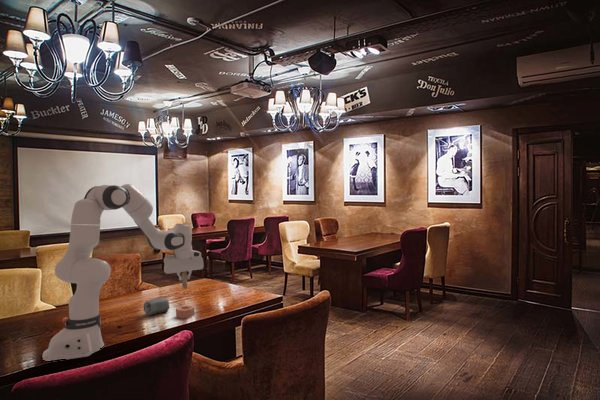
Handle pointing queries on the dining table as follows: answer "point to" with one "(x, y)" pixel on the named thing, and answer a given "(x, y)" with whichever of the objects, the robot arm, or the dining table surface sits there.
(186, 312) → the bead
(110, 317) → the dining table surface
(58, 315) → the dining table surface
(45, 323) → the dining table surface
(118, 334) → the dining table surface
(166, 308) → the spool
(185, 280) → the dowel
